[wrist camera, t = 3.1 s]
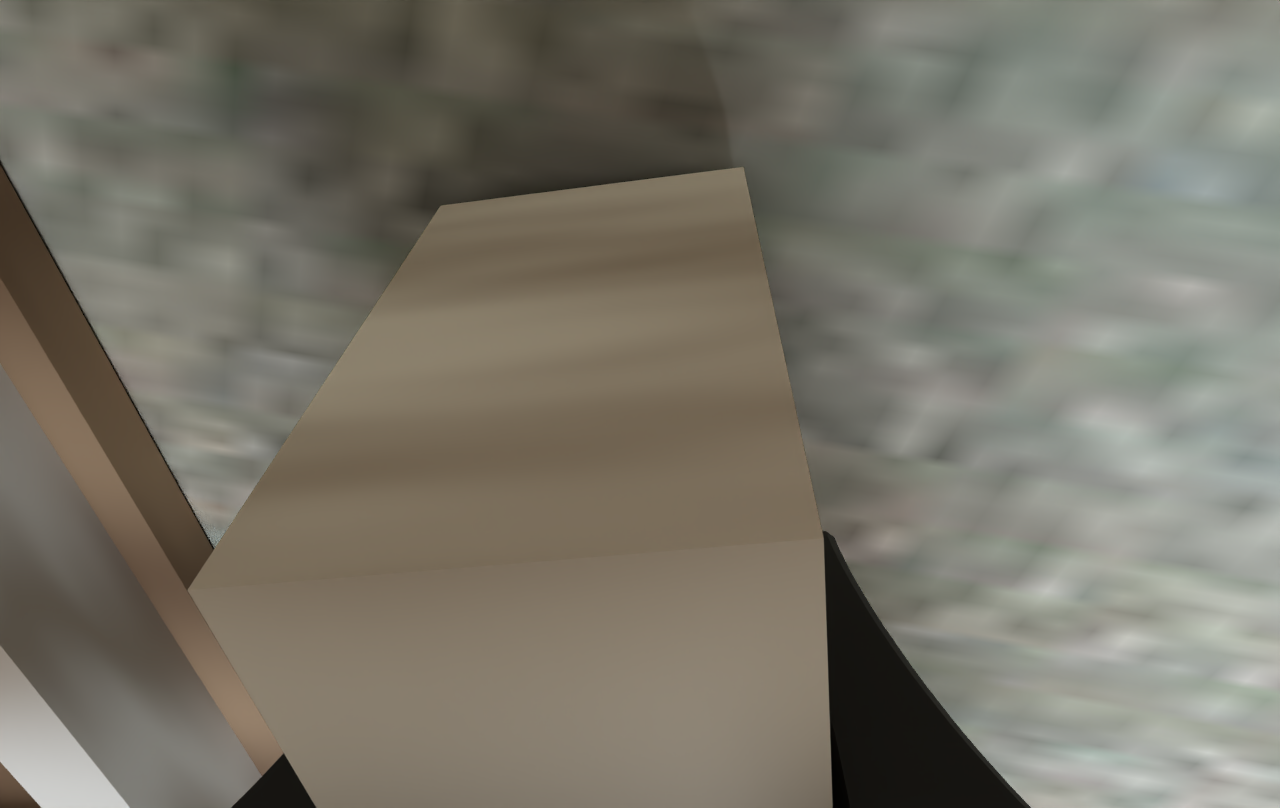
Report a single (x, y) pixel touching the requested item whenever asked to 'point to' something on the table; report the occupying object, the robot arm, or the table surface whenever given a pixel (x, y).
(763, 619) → the door panel
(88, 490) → the track board
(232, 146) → the table surface
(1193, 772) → the table surface
